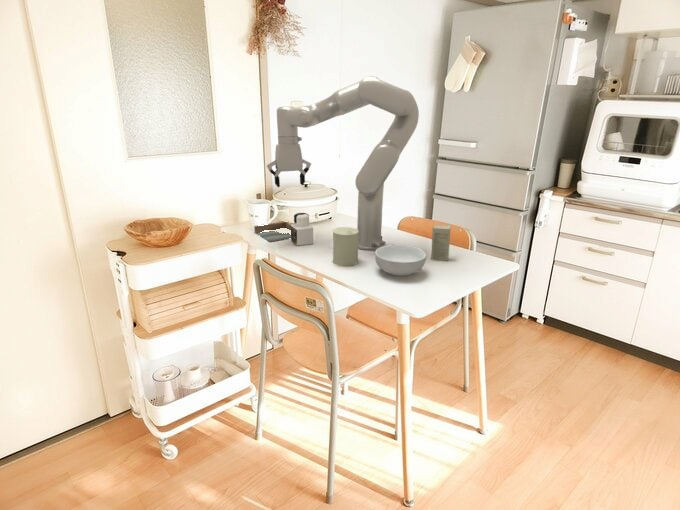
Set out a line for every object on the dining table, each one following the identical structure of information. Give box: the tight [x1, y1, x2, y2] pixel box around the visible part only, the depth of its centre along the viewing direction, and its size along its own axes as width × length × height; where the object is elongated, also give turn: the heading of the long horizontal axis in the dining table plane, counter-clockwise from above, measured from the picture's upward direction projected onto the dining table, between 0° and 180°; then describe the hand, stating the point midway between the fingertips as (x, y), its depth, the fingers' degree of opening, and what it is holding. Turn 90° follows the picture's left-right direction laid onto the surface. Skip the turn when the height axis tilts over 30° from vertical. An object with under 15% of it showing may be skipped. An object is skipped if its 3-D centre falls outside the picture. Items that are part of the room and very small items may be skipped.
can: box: [332, 226, 359, 267], centre depth 157 cm, size 9×9×12 cm
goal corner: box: [253, 220, 293, 243], centre depth 188 cm, size 16×16×3 cm
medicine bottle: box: [290, 212, 314, 247], centre depth 176 cm, size 7×7×12 cm
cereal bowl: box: [374, 244, 427, 277], centre depth 148 cm, size 17×17×7 cm
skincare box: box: [430, 224, 451, 262], centre depth 160 cm, size 6×4×12 cm
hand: (290, 185), depth 173 cm, fingers open, 9 cm apart
